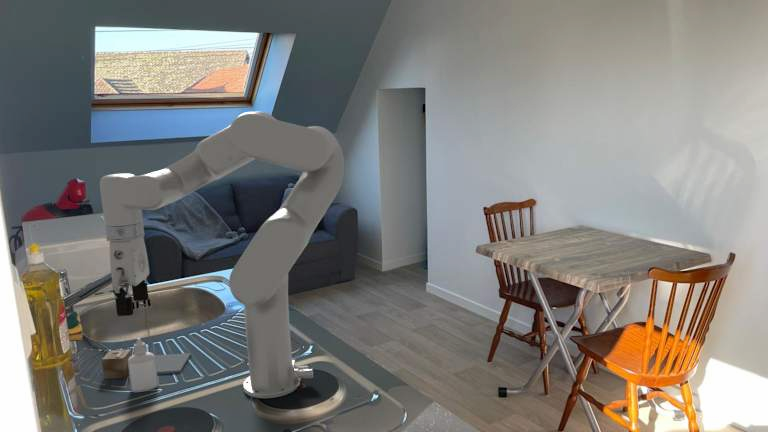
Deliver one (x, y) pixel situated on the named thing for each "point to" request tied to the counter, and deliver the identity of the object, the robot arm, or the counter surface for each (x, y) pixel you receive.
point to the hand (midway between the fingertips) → (133, 307)
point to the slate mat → (171, 363)
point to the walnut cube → (116, 364)
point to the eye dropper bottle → (142, 369)
